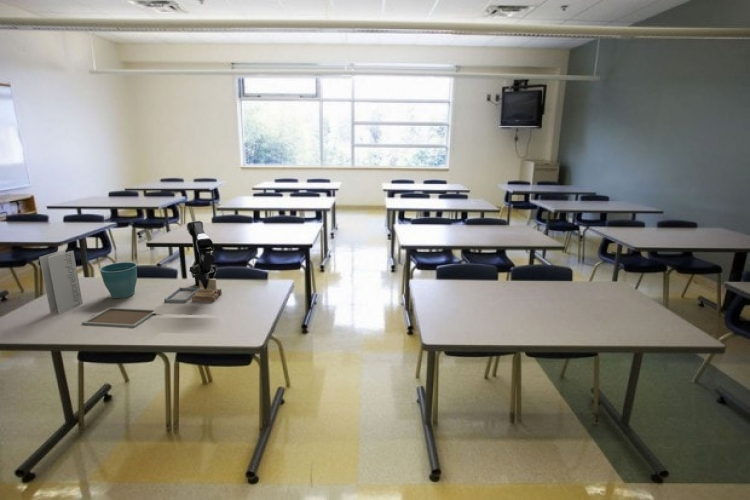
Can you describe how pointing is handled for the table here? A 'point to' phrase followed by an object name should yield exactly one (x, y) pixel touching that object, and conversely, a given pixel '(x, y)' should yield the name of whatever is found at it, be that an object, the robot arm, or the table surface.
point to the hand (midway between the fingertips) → (208, 286)
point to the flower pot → (120, 279)
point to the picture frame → (120, 317)
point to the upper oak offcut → (204, 293)
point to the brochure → (61, 281)
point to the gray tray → (179, 291)
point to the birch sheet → (209, 285)
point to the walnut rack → (207, 299)
